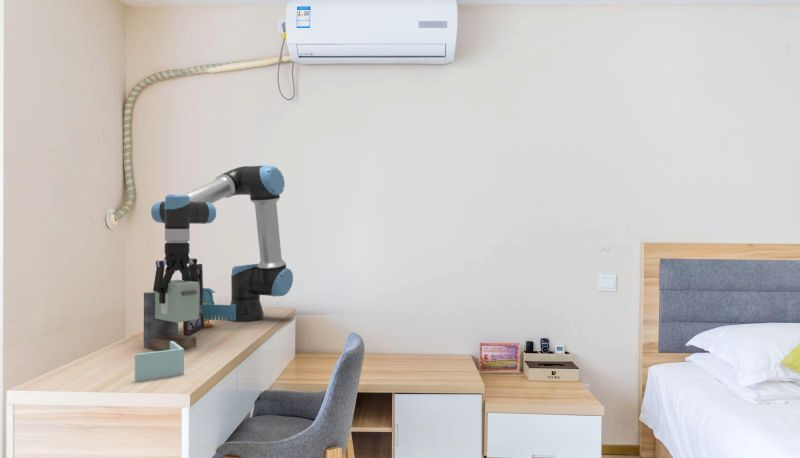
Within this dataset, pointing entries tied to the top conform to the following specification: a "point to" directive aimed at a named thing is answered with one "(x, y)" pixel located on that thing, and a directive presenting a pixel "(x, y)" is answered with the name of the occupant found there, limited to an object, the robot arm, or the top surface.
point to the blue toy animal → (215, 309)
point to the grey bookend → (161, 329)
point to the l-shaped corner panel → (160, 363)
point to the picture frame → (198, 324)
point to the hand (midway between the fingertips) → (176, 311)
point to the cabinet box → (180, 302)
